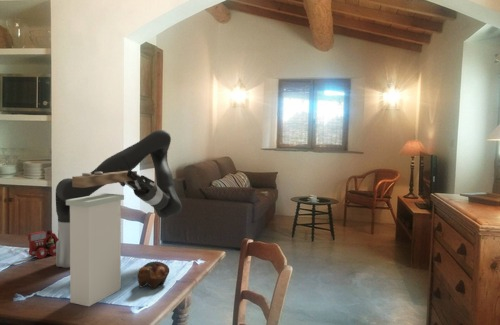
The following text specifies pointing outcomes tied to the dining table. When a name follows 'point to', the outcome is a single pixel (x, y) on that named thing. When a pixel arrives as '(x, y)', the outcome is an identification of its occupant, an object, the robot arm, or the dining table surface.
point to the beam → (100, 179)
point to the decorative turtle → (153, 274)
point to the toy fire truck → (42, 243)
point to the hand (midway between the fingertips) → (123, 172)
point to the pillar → (95, 247)
